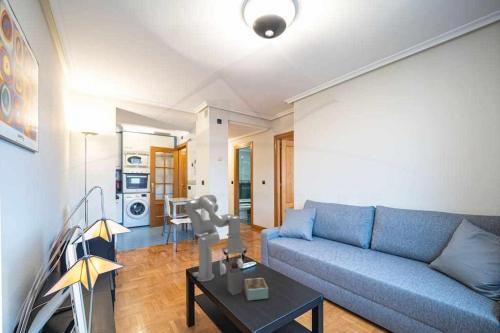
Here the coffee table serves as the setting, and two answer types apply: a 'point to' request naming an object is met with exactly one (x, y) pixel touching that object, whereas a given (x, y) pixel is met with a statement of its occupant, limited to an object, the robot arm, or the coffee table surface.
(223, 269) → the headset
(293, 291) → the coffee table surface
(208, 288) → the coffee table surface
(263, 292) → the gate
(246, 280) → the cubby
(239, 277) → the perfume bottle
